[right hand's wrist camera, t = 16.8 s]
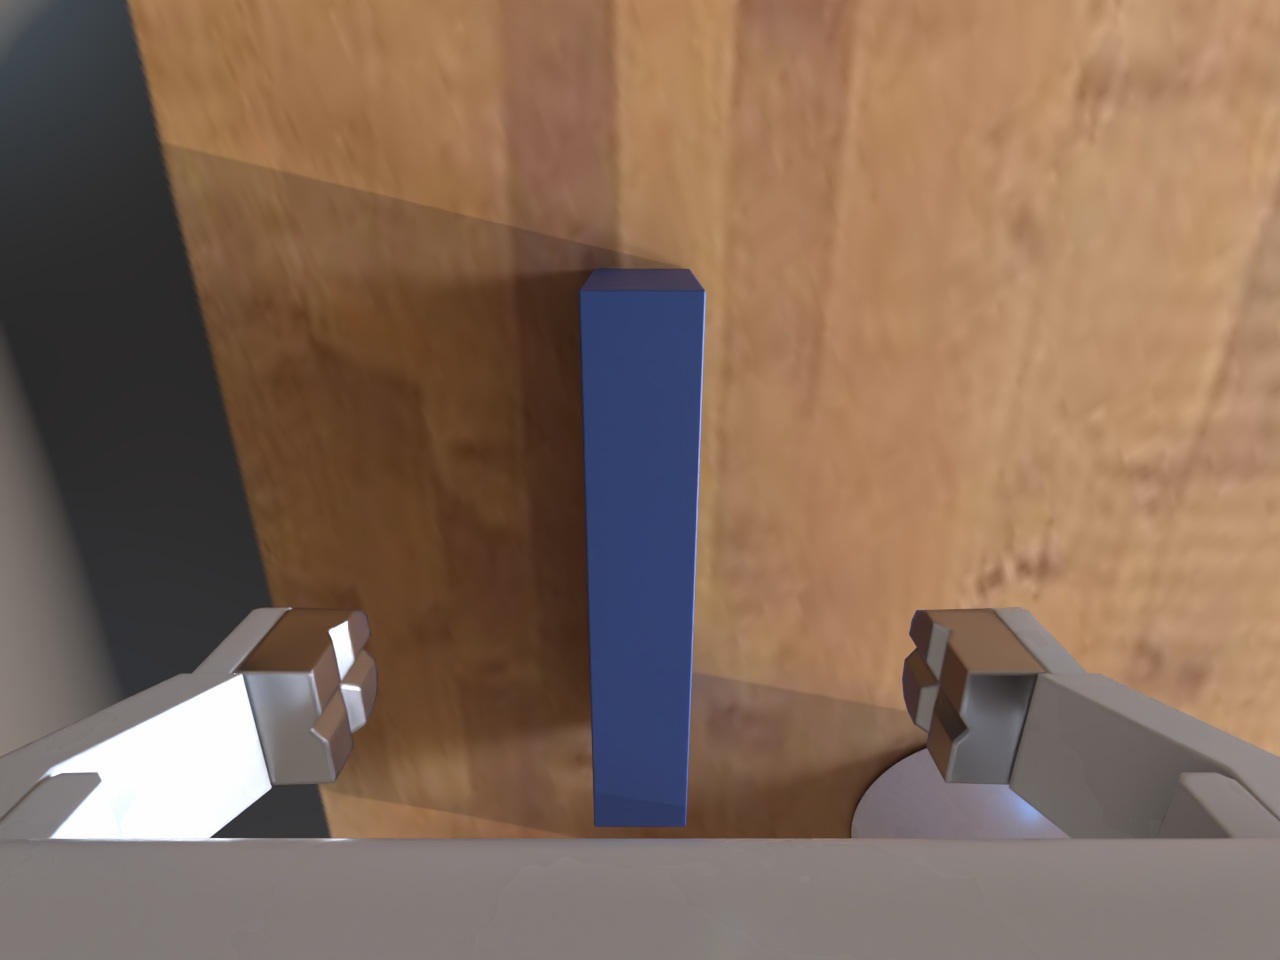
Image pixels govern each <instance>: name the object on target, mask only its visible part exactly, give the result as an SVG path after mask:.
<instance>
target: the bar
mask: <svg viewBox="0 0 1280 960" xmlns="http://www.w3.org/2000/svg"><path fill="white" fill-rule="evenodd" d="M705 303H706V292H705V290H704V288H703V287H702V286H701V284H700V283H699V282H698V280H697V279H696V277H695V276H694V275H693V273H692V272H691V270H690V269H594V270H593V272H592V273H591V275H590V276H589V277H588V279H587V280H586V282H585V283H584V285H583V286H582V288H581V289H580V291H579V314H580V348H581V382H582V416H583V451H584V485H585V519H586V553H587V588H588V622H589V656H590V690H591V725H592V759H593V793H594V825H595V826H596V827H685V826H686V811H687V784H688V757H689V730H690V704H691V677H692V650H693V624H694V597H695V570H696V543H697V517H698V490H699V463H700V436H701V410H702V383H703V356H704V330H705Z"/></svg>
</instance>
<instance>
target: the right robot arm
mask: <svg viewBox="0 0 1280 960" xmlns="http://www.w3.org/2000/svg"><path fill="white" fill-rule="evenodd" d="M370 635H371V633H370V628H369V623H368V619H367V615H366V614H365V613H364V612H363V611H362V610H361V609H331V608H291V607H281V608H259V609H254V610H252V611H251V612H250V613H249V614H248V616H247V617H246V618H245V619H244V620H243V621H242V622H241V623H240V624H239V625H238V626H237V627H236V628H235V629H234V630H233V631H232V632H231V633H230V634H229V635H228V636H227V637H226V638H225V639H224V640H223V642H222V643H221V644H220V645H219V646H218V647H217V648H216V649H215V650H214V651H213V652H212V653H211V654H210V655H209V656H208V657H207V658H206V659H205V660H204V661H203V662H202V663H201V664H200V665H199V666H198V668H197V669H196V670H195V671H194V672H193V673H192V674H179V675H176V676H174V677H172V678H170V679H168V680H166V681H163V682H161V683H159V684H157V685H155V686H153V687H150V688H148V689H146V690H144V691H142V692H140V693H137V694H135V695H133V696H131V697H129V698H127V699H124V700H122V701H120V702H118V703H116V704H114V705H111V706H109V707H107V708H105V709H103V710H101V711H98V712H96V713H94V714H92V715H90V716H88V717H85V718H83V719H81V720H79V721H77V722H75V723H72V724H70V725H68V726H66V727H64V728H62V729H59V730H57V731H55V732H53V733H51V734H49V735H46V736H44V737H42V738H40V739H38V740H36V741H33V742H31V743H29V744H27V745H25V746H23V747H21V748H18V749H16V750H14V751H12V752H10V753H7V754H5V755H3V756H1V757H0V960H1280V757H1279V756H1276V755H1274V754H1272V753H1270V752H1268V751H1266V750H1263V749H1261V748H1259V747H1257V746H1255V745H1253V744H1250V743H1248V742H1246V741H1244V740H1242V739H1240V738H1237V737H1235V736H1233V735H1231V734H1229V733H1227V732H1225V731H1222V730H1220V729H1218V728H1216V727H1214V726H1212V725H1209V724H1207V723H1205V722H1203V721H1201V720H1199V719H1196V718H1194V717H1192V716H1190V715H1188V714H1186V713H1184V712H1181V711H1179V710H1177V709H1175V708H1173V707H1171V706H1168V705H1166V704H1164V703H1162V702H1160V701H1158V700H1155V699H1153V698H1151V697H1149V696H1147V695H1145V694H1143V693H1140V692H1138V691H1136V690H1134V689H1132V688H1130V687H1127V686H1125V685H1123V684H1121V683H1119V682H1117V681H1114V680H1112V679H1110V678H1108V677H1106V676H1104V675H1101V674H1088V673H1087V672H1086V671H1085V670H1084V668H1083V667H1082V666H1081V665H1080V664H1079V663H1078V662H1077V661H1076V660H1075V659H1074V658H1073V657H1072V656H1071V655H1070V654H1069V653H1068V652H1067V651H1066V650H1065V649H1064V648H1063V647H1062V646H1061V645H1060V643H1059V642H1058V641H1057V640H1056V639H1055V638H1054V637H1053V636H1052V635H1051V634H1050V633H1049V632H1048V631H1047V630H1046V629H1045V628H1044V627H1043V626H1042V625H1041V624H1040V623H1039V622H1038V621H1037V619H1036V618H1035V617H1034V616H1033V615H1032V614H1031V613H1030V612H1029V611H1028V610H1025V609H1023V608H1020V607H1007V608H985V609H948V610H916V612H915V614H914V616H913V618H912V622H911V627H910V632H909V635H910V637H911V638H912V640H913V642H914V643H915V645H916V647H917V648H916V649H915V650H914V651H913V652H912V653H911V654H910V655H909V656H908V657H907V658H906V659H905V662H904V669H903V677H902V683H903V694H904V700H905V703H906V707H907V710H908V713H909V715H910V717H911V719H912V721H913V723H914V724H915V725H916V726H918V727H919V728H921V729H922V730H924V731H925V732H927V733H928V740H927V745H926V747H927V748H926V749H923V750H921V751H919V752H916V753H914V754H912V755H910V756H908V757H906V758H905V759H903V760H901V761H900V762H898V763H896V764H895V765H893V766H892V767H891V768H889V769H888V770H887V771H885V772H884V773H883V774H882V775H881V776H880V777H879V778H878V779H877V780H876V781H875V782H874V783H873V784H872V785H871V786H870V787H869V789H868V790H867V791H866V793H865V794H864V796H863V797H862V799H861V800H860V802H859V804H858V806H857V809H856V811H855V814H854V817H853V821H852V827H851V838H210V837H211V836H212V835H213V834H215V833H216V832H217V831H218V830H220V829H221V828H222V827H223V826H225V825H226V824H227V823H228V822H230V821H231V820H232V819H233V818H235V817H236V816H237V815H238V814H240V813H241V812H242V811H243V810H245V809H246V808H247V807H248V806H250V805H251V804H252V803H253V802H255V801H256V800H257V799H258V798H260V797H261V796H262V795H263V794H265V793H266V792H267V791H268V790H270V789H271V785H280V784H316V783H335V781H336V779H337V778H338V776H339V774H340V772H341V770H342V768H343V766H344V764H345V763H346V761H347V759H348V757H349V755H350V753H351V751H352V749H353V747H354V745H353V740H352V733H353V732H355V731H356V730H358V729H359V728H361V727H362V726H364V725H365V724H366V723H367V721H368V719H369V717H370V715H371V712H372V710H373V707H374V703H375V698H376V694H377V668H376V661H375V659H374V658H373V657H372V656H371V655H370V654H369V653H368V652H367V651H366V650H365V649H364V648H363V647H364V645H365V643H366V642H367V640H368V638H369V637H370Z"/></svg>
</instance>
